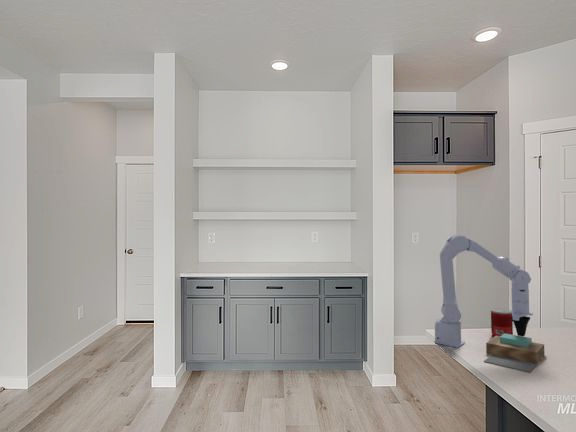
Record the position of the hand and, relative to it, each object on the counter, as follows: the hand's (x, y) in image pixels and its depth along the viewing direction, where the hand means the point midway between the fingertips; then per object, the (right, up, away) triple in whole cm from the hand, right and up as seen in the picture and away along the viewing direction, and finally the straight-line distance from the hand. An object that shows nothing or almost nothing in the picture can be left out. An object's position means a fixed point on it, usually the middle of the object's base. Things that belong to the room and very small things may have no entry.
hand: (521, 335), depth 145 cm
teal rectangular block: (-6, -1, -6) cm, 8 cm away
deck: (-6, -5, -6) cm, 10 cm away
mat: (-13, -5, -15) cm, 21 cm away
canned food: (+1, -5, +16) cm, 16 cm away
